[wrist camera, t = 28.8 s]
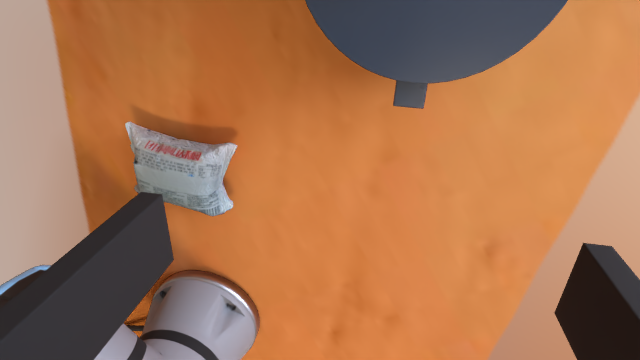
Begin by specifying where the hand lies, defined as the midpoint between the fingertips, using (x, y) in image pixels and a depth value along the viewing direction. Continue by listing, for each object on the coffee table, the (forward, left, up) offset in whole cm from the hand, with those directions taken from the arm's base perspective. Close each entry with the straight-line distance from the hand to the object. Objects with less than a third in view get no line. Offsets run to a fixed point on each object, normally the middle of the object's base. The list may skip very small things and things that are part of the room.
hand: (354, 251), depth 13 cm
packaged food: (-21, -12, -28) cm, 37 cm away
